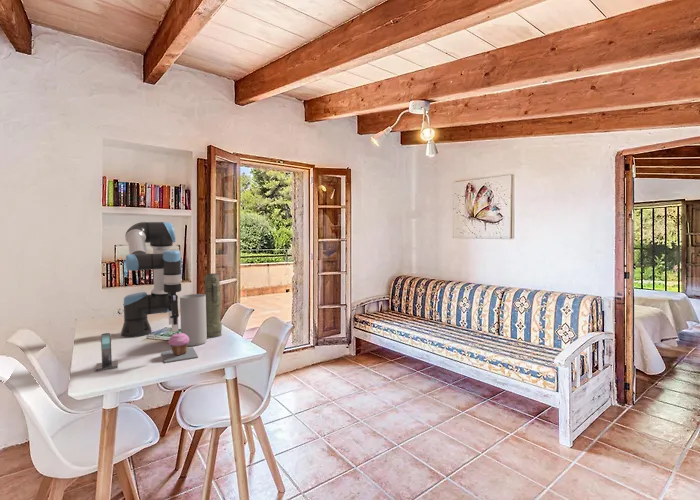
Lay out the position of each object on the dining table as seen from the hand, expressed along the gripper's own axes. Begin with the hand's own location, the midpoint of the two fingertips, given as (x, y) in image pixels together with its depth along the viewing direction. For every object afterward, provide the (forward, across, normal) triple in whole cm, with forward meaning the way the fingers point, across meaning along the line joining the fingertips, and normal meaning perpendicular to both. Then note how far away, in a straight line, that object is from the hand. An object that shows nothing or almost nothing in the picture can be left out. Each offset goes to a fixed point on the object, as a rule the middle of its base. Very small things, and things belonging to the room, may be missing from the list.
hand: (173, 327), depth 178 cm
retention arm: (0, +10, -27) cm, 28 cm away
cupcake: (+13, +3, +2) cm, 13 cm away
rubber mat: (+13, +3, +2) cm, 14 cm away
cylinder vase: (+14, -15, +11) cm, 23 cm away
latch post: (+13, +3, -27) cm, 30 cm away
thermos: (+14, -25, +23) cm, 36 cm away
